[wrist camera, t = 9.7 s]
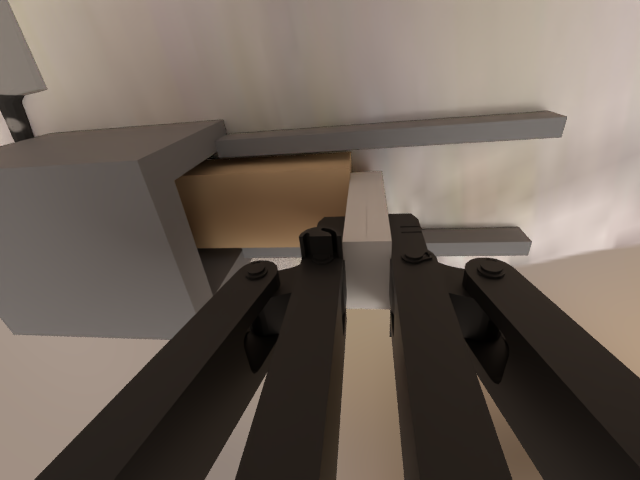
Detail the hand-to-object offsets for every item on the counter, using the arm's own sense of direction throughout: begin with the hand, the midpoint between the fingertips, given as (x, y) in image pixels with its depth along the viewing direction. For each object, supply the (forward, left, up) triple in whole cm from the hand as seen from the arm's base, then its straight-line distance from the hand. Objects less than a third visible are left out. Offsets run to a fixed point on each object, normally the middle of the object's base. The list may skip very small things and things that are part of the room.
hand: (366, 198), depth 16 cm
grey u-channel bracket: (0, -4, -1) cm, 5 cm away
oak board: (0, -8, -2) cm, 8 cm away
